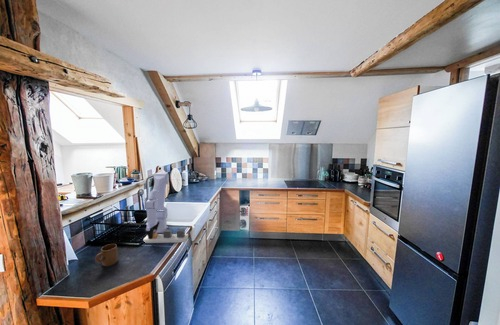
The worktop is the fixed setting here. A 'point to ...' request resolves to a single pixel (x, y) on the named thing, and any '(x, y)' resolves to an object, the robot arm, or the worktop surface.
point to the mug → (108, 255)
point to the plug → (154, 234)
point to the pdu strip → (165, 240)
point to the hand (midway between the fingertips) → (152, 235)
